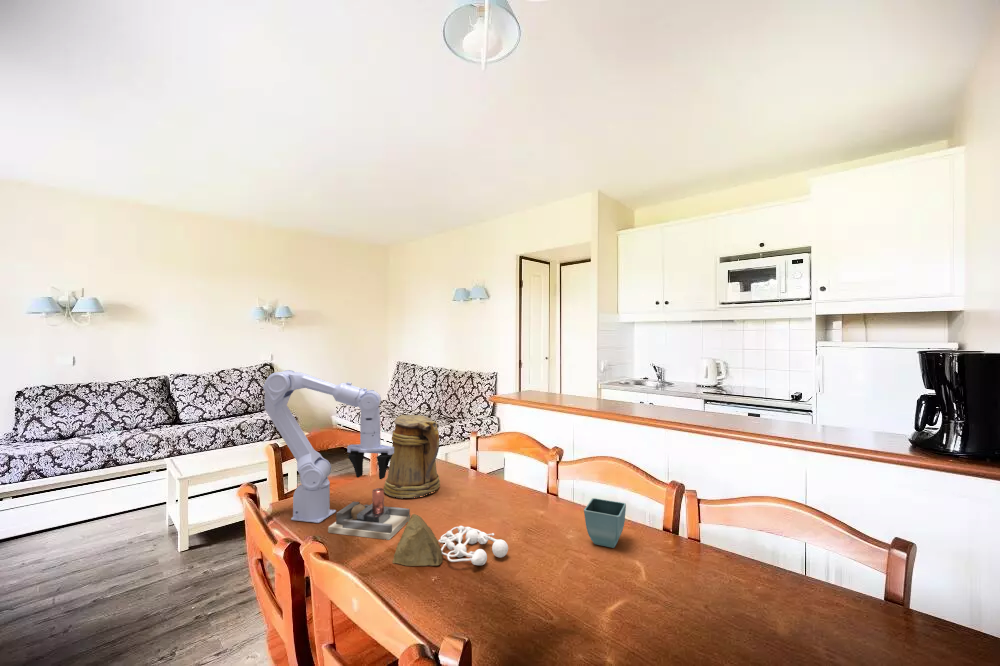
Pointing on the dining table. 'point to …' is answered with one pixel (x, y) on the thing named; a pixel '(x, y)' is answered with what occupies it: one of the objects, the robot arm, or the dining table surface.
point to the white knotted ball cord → (471, 537)
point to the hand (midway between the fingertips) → (370, 477)
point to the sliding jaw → (375, 509)
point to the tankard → (413, 457)
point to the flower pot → (605, 521)
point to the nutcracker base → (369, 523)
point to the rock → (418, 545)
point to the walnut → (357, 510)
